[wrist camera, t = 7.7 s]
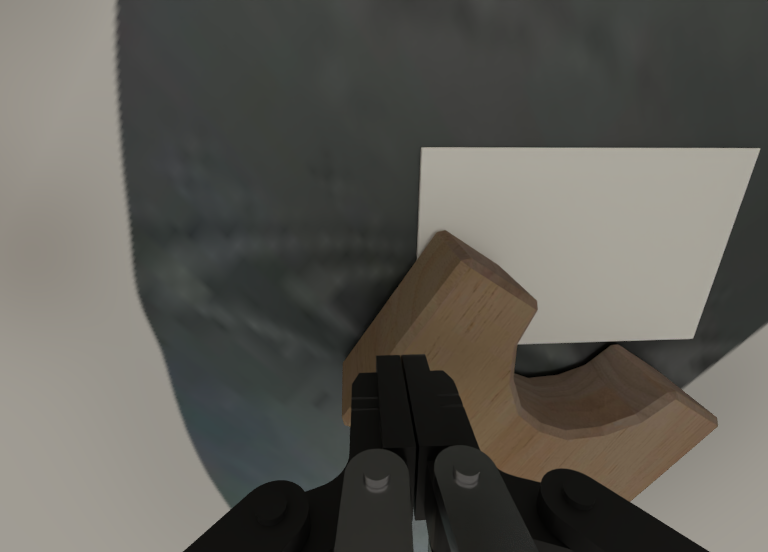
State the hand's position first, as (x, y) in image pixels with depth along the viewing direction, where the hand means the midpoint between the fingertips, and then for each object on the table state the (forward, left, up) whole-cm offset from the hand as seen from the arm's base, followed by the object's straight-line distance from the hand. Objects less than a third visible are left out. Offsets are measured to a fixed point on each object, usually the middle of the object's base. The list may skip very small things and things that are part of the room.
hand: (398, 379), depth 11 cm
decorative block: (0, +2, -8) cm, 9 cm away
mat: (-12, 0, -12) cm, 17 cm away
